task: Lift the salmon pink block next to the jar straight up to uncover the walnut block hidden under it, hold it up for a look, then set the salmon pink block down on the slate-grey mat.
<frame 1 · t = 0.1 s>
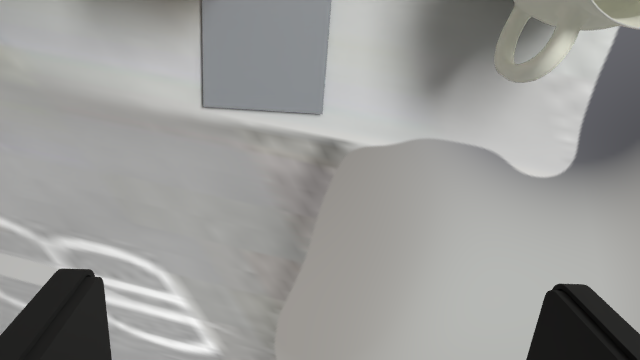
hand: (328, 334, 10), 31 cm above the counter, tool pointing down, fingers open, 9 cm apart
mat: (265, 48, 37), on the counter
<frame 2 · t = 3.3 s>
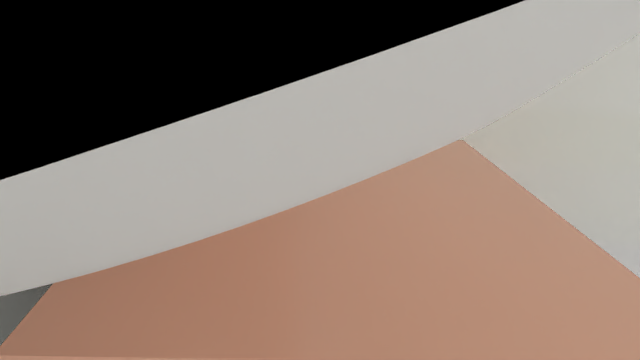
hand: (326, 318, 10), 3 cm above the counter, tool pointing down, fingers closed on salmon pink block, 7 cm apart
salmon pink block: (318, 253, 13), on the counter, touching gripper
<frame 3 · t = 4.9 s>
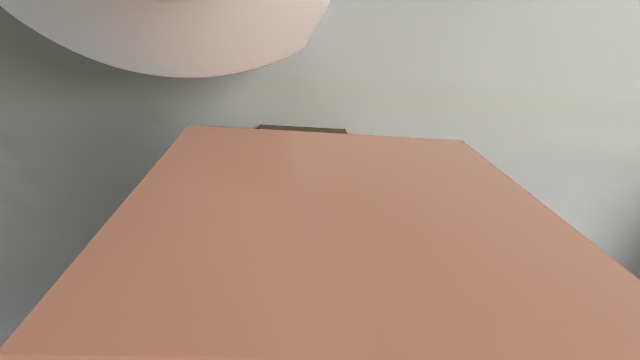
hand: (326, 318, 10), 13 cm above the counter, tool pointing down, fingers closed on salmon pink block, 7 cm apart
salmon pink block: (318, 253, 13), point 10 cm above the counter, touching gripper
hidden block: (300, 166, 22), on the counter
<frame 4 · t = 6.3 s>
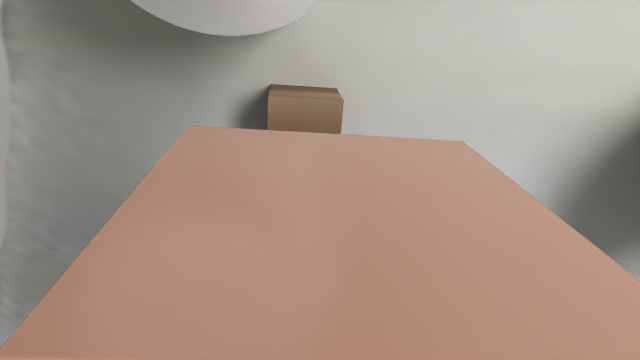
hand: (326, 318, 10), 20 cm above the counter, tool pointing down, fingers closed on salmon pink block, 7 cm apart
salmon pink block: (318, 254, 13), point 17 cm above the counter, touching gripper
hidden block: (302, 118, 29), on the counter
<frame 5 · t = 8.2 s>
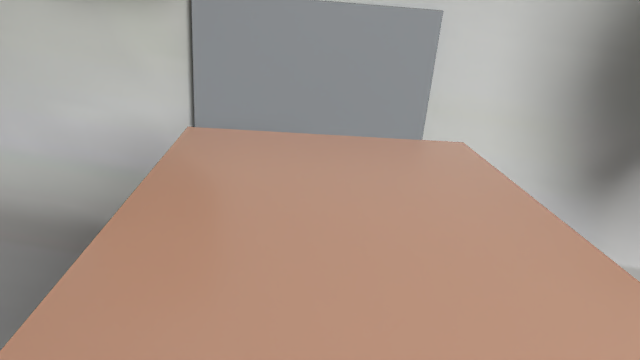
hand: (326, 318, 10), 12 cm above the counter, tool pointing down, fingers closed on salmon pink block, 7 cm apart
salmon pink block: (318, 255, 13), point 9 cm above the counter, touching gripper
mat: (311, 121, 20), on the counter
when the fingers open (4 cm above the counter, at t = 9.8 s): salmon pink block drops 1 cm, resting on mat.
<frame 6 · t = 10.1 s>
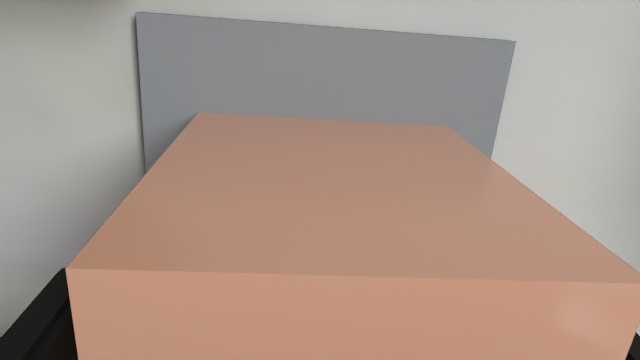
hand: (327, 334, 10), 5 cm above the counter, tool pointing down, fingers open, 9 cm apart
salmon pink block: (317, 231, 14), resting on mat
mat: (317, 197, 14), on the counter
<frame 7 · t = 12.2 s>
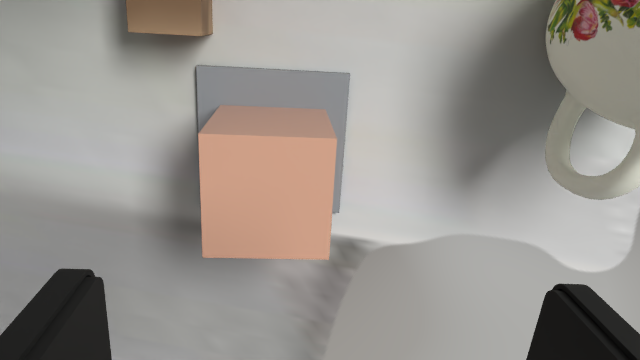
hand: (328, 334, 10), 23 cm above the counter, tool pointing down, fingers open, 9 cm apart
salmon pink block: (272, 157, 32), resting on mat
pitcher: (585, 40, 31), on the counter
mat: (272, 142, 32), on the counter
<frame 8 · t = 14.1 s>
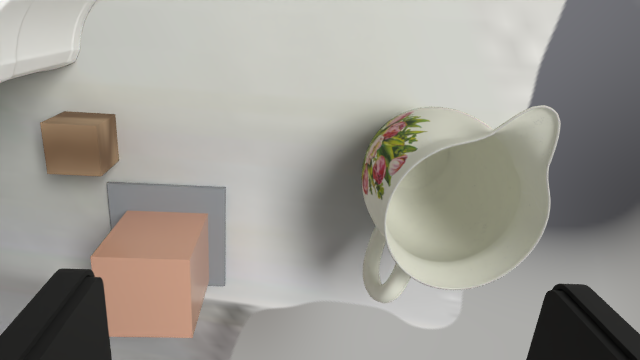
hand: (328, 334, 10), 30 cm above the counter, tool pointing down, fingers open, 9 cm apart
salmon pink block: (169, 246, 42), resting on mat
pitcher: (406, 163, 41), on the counter
mat: (169, 235, 42), on the counter
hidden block: (92, 136, 38), on the counter
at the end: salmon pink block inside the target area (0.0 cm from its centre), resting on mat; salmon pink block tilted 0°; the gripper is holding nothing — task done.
